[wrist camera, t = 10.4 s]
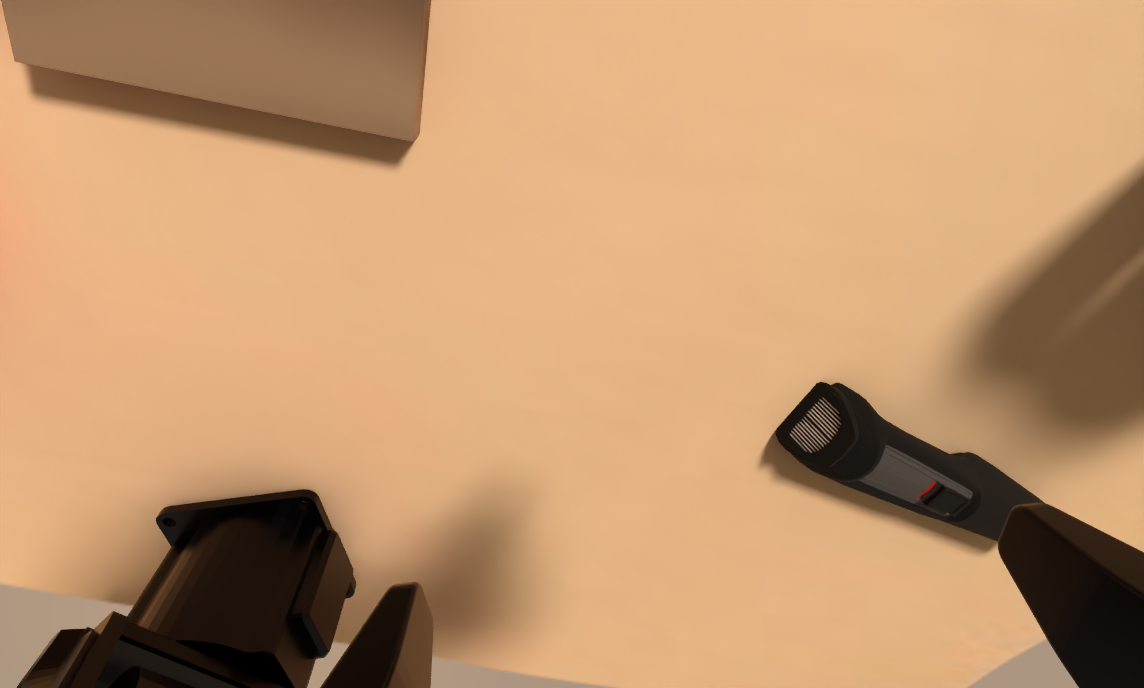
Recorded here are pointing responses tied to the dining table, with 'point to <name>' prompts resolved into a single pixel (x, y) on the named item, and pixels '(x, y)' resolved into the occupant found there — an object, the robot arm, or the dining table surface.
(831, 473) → the electric trimmer
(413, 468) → the dining table surface
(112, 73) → the socket board
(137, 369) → the dining table surface
